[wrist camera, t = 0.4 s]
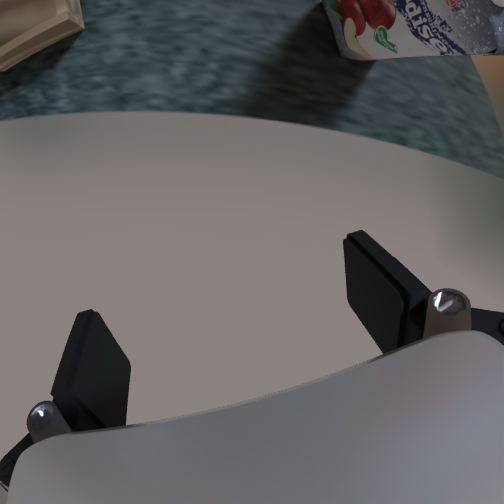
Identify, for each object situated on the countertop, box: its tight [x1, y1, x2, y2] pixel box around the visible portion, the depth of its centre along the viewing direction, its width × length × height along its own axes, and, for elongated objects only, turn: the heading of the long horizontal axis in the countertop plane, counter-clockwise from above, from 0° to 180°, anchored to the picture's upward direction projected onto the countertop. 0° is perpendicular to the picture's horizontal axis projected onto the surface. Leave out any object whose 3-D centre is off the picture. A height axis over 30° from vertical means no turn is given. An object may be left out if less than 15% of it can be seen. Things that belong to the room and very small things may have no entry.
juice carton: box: [322, 0, 504, 60], centre depth 21 cm, size 9×10×27 cm
